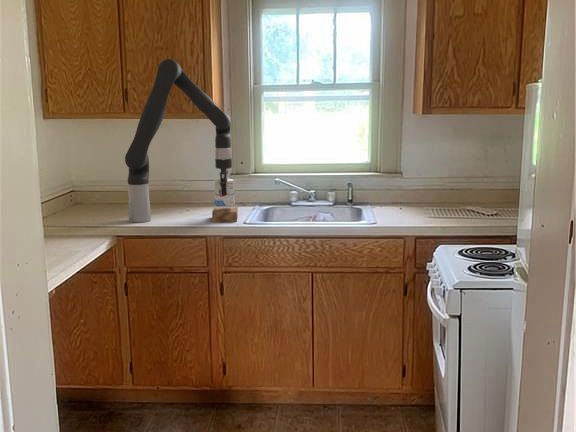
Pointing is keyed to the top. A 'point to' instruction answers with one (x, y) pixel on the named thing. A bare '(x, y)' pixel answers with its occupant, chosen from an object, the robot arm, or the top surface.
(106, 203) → the top surface
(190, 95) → the robot arm
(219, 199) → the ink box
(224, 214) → the walnut block
